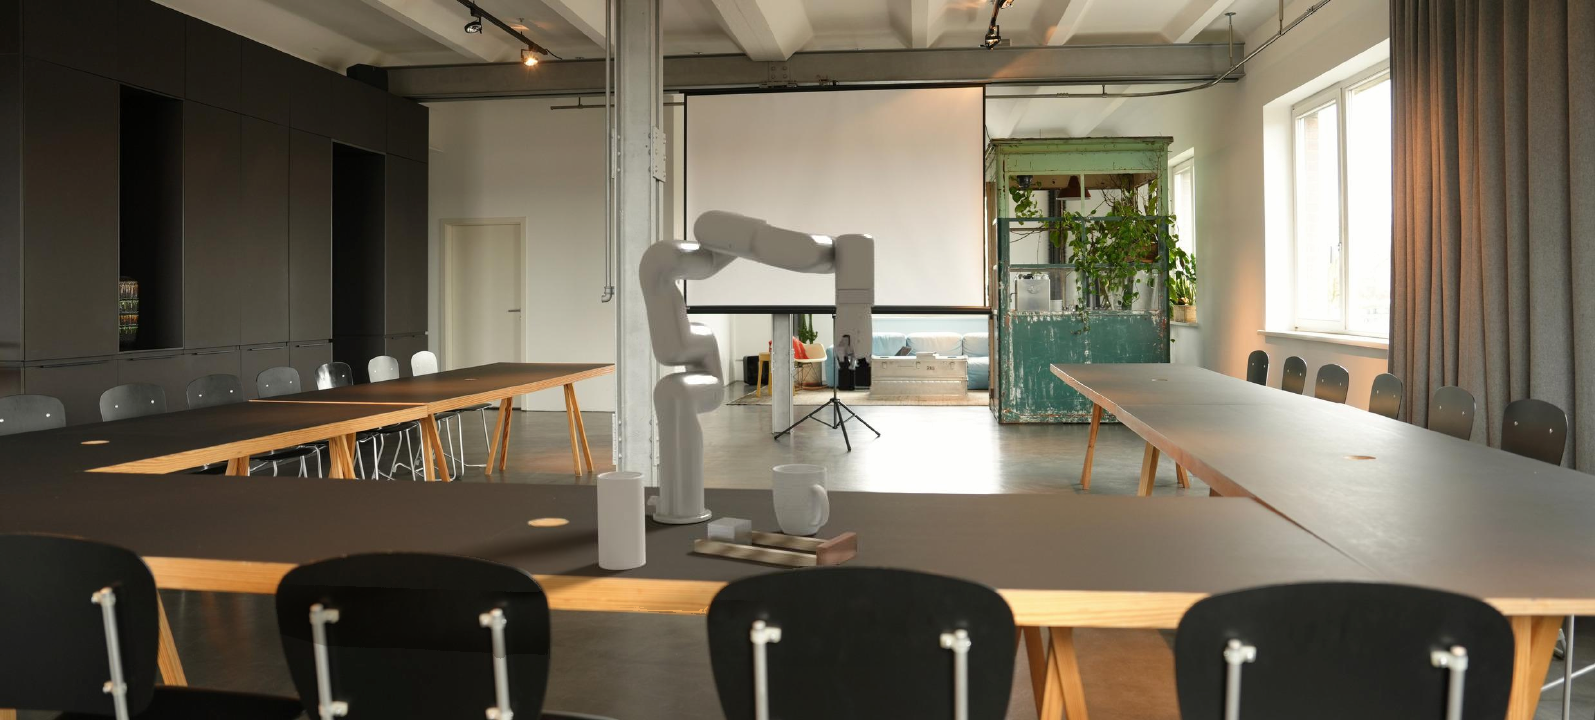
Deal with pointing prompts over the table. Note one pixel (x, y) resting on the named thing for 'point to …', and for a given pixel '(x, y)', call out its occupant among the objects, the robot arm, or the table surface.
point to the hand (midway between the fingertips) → (855, 388)
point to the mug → (800, 498)
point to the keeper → (731, 531)
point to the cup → (621, 520)
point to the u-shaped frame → (825, 549)
